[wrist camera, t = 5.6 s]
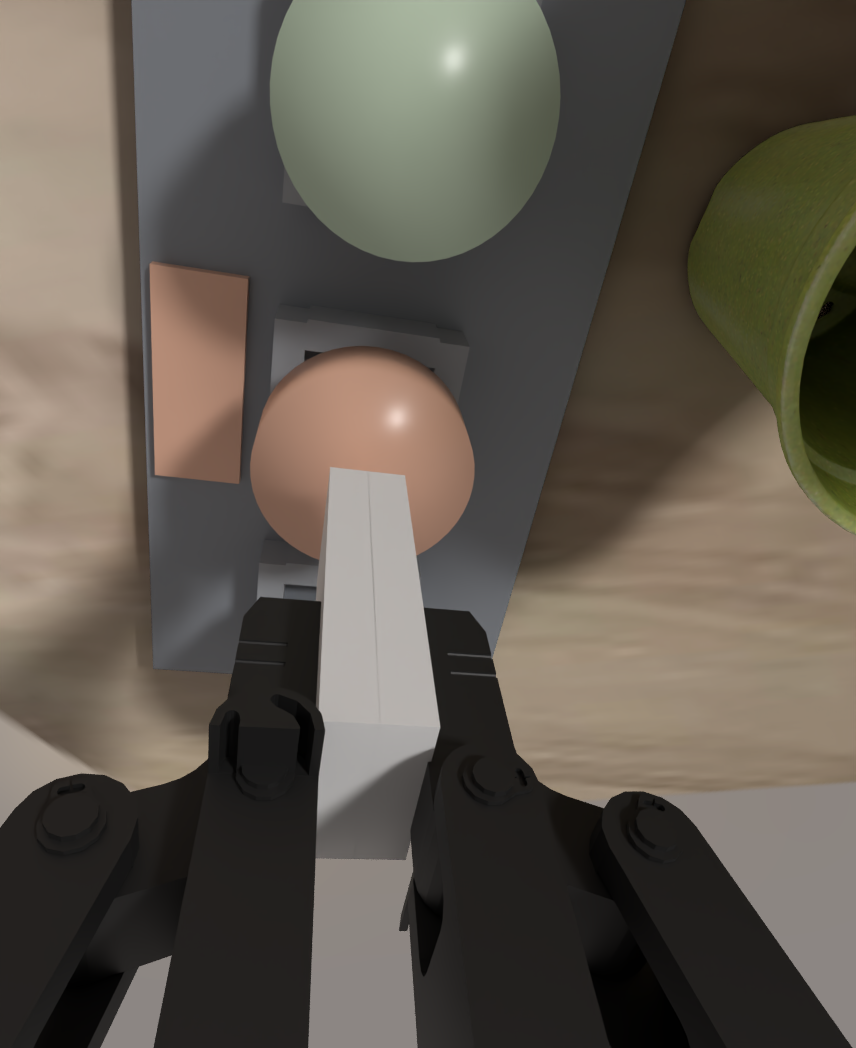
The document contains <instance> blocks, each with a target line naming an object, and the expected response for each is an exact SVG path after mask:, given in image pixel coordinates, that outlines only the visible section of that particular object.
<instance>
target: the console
mask: <svg viewBox="0 0 856 1048" xmlns="http://www.w3.org/2000/svg"><path fill="white" fill-rule="evenodd" d="M131 1H132V32H133V63H134V93H135V124H136V155H137V185H138V216H139V247H140V277H141V308H142V339H143V369H144V400H145V431H146V461H147V492H148V522H149V553H150V584H151V615H152V645H153V669H164V670H180V671H196V672H211V673H227V674H232V673H233V668H234V664H235V657H236V652H237V647H238V644H239V637H240V632H241V627H242V621H243V616H244V615H245V614H246V613H247V611H248V610H249V609H250V608H251V607H252V606H253V605H254V603H255V602H256V601H257V600H258V599H259V598H260V597H271V598H284V599H297V600H309V601H316V590H317V576H318V567H319V560H318V559H315V558H313V557H310V556H308V555H307V554H305V553H303V552H301V551H299V550H298V549H296V548H295V547H293V546H292V545H290V544H289V543H288V542H286V541H285V540H284V539H283V538H282V537H281V536H279V535H278V533H277V532H276V531H275V530H274V529H273V528H272V527H271V526H270V524H269V523H268V521H267V520H266V519H265V517H264V516H263V514H262V512H261V510H260V508H259V506H258V504H257V502H256V499H255V496H254V493H253V489H252V483H251V478H250V461H251V454H252V449H253V445H254V441H255V437H256V434H257V430H258V426H259V423H260V419H261V416H262V412H263V409H264V407H265V405H266V402H267V400H268V398H269V396H270V395H271V393H272V392H273V390H274V389H275V387H276V386H277V385H278V383H279V382H280V381H281V380H282V379H283V378H284V377H285V376H286V375H287V374H288V373H289V372H290V371H291V370H293V369H294V368H295V367H296V366H298V365H300V364H301V363H303V362H304V361H306V360H307V359H309V358H312V357H314V356H316V355H318V354H320V353H323V352H326V351H330V350H333V349H337V348H343V347H349V346H371V347H380V348H385V349H389V350H393V351H396V352H399V353H402V354H405V355H407V356H409V357H411V358H413V359H415V360H417V361H419V362H420V363H422V364H423V365H425V366H426V367H428V368H429V369H430V370H431V371H432V372H434V373H435V374H436V375H437V376H438V377H439V378H440V379H441V380H442V381H443V382H444V384H445V385H446V386H447V387H448V388H449V390H450V392H451V393H452V395H453V396H454V398H455V400H456V402H457V404H458V406H459V409H460V411H461V414H462V417H463V420H464V424H465V427H466V430H467V433H468V436H469V439H470V443H471V446H472V450H473V456H474V463H475V468H474V482H473V488H472V492H471V495H470V498H469V501H468V504H467V506H466V508H465V510H464V512H463V514H462V515H461V517H460V518H459V520H458V521H457V523H456V524H455V525H454V527H453V528H452V529H451V530H450V531H449V532H448V534H446V535H445V536H444V537H443V538H442V539H441V540H440V541H439V542H437V543H436V544H435V545H433V546H432V547H430V548H429V549H428V550H426V551H424V552H422V553H420V554H419V555H417V556H416V557H417V565H418V572H419V579H420V586H421V593H422V600H423V607H424V608H435V609H448V610H460V611H470V613H471V614H472V615H473V616H474V618H475V619H476V620H477V621H478V623H479V624H480V625H481V626H482V628H483V629H484V630H485V631H486V634H487V638H488V642H489V647H490V651H491V659H492V657H493V654H494V650H495V647H496V644H497V640H498V637H499V633H500V630H501V627H502V623H503V620H504V616H505V613H506V610H507V606H508V603H509V599H510V596H511V593H512V589H513V586H514V583H515V579H516V576H517V572H518V569H519V566H520V562H521V559H522V555H523V552H524V549H525V545H526V542H527V538H528V535H529V532H530V528H531V525H532V521H533V518H534V515H535V511H536V508H537V504H538V501H539V498H540V494H541V491H542V488H543V484H544V481H545V477H546V474H547V471H548V467H549V464H550V460H551V457H552V454H553V450H554V447H555V443H556V440H557V437H558V433H559V430H560V426H561V423H562V420H563V416H564V413H565V409H566V406H567V403H568V399H569V396H570V392H571V389H572V386H573V382H574V379H575V376H576V372H577V369H578V365H579V362H580V359H581V355H582V352H583V348H584V345H585V342H586V338H587V335H588V331H589V328H590V325H591V321H592V318H593V314H594V311H595V308H596V304H597V301H598V297H599V294H600V291H601V287H602V284H603V281H604V277H605V274H606V270H607V267H608V264H609V260H610V257H611V253H612V250H613V247H614V243H615V240H616V236H617V233H618V230H619V226H620V223H621V219H622V216H623V213H624V209H625V206H626V202H627V199H628V196H629V192H630V189H631V185H632V182H633V179H634V175H635V172H636V169H637V165H638V162H639V158H640V155H641V152H642V148H643V145H644V141H645V138H646V135H647V131H648V128H649V124H650V121H651V118H652V114H653V111H654V107H655V104H656V101H657V97H658V94H659V90H660V87H661V84H662V80H663V77H664V74H665V70H666V67H667V63H668V60H669V57H670V53H671V50H672V46H673V43H674V40H675V36H676V33H677V29H678V26H679V23H680V19H681V16H682V12H683V9H684V6H685V2H686V0H536V1H537V3H538V5H539V6H540V8H541V10H542V12H543V15H544V17H545V20H546V22H547V25H548V27H549V29H550V32H551V36H552V39H553V43H554V47H555V50H556V55H557V61H558V68H559V74H560V95H561V97H560V112H559V121H558V127H557V132H556V138H555V142H554V145H553V148H552V152H551V155H550V159H549V161H548V163H547V166H546V168H545V171H544V173H543V175H542V178H541V179H540V181H539V183H538V185H537V186H536V188H535V190H534V192H533V194H532V195H531V197H530V198H529V199H528V201H527V202H526V204H525V205H524V206H523V208H522V209H521V210H520V211H519V213H518V214H517V215H516V216H515V217H514V218H513V219H512V220H511V221H510V222H509V223H508V224H507V225H506V226H505V227H504V228H503V229H501V230H500V231H499V232H498V233H497V234H495V235H494V236H493V237H491V238H490V239H488V240H487V241H485V242H484V243H482V244H481V245H479V246H477V247H475V248H473V249H471V250H469V251H466V252H464V253H462V254H459V255H456V256H453V257H450V258H446V259H441V260H435V261H430V262H405V261H395V260H391V259H387V258H382V257H378V256H376V255H373V254H371V253H368V252H365V251H363V250H361V249H359V248H357V247H355V246H353V245H352V244H350V243H348V242H346V241H345V240H343V239H342V238H341V237H339V236H338V235H336V234H335V233H334V232H332V231H331V230H330V229H329V228H328V227H327V226H326V225H325V224H324V223H322V222H321V221H320V220H319V219H318V218H317V217H316V215H315V214H314V213H313V212H312V211H311V209H310V208H309V207H308V206H307V205H306V203H305V202H304V201H303V199H302V197H301V196H300V194H299V193H298V191H297V190H296V188H295V187H294V185H293V183H292V181H291V179H290V177H289V175H288V173H287V171H286V169H285V166H284V164H283V161H282V158H281V155H280V153H279V150H278V147H277V143H276V138H275V134H274V130H273V125H272V117H271V109H270V76H271V67H272V58H273V54H274V50H275V45H276V41H277V37H278V34H279V31H280V29H281V26H282V23H283V20H284V18H285V15H286V13H287V11H288V9H289V7H290V5H291V3H292V1H293V0H131Z"/></svg>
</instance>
